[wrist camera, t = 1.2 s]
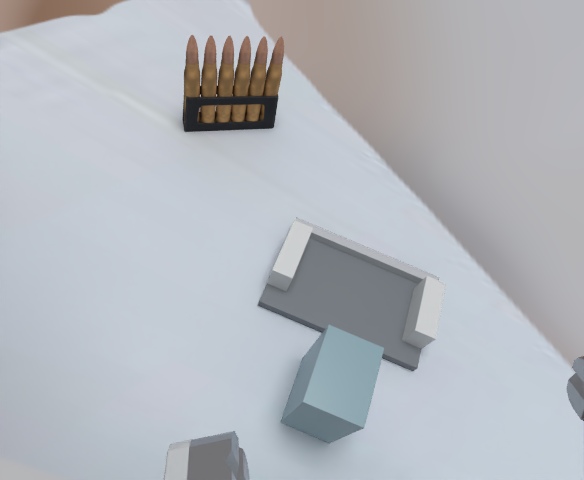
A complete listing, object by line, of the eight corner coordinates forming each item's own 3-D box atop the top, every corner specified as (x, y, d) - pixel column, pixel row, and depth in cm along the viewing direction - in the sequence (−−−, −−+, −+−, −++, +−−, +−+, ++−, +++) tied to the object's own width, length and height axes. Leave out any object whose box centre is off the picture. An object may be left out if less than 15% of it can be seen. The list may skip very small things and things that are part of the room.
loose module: (280, 422, 38) (303, 401, 31) (303, 357, 41) (328, 324, 34) (329, 443, 38) (364, 427, 30) (348, 376, 41) (384, 347, 34)
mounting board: (258, 305, 43) (264, 288, 40) (293, 225, 48) (300, 204, 45) (412, 370, 43) (432, 359, 39) (430, 283, 48) (449, 267, 45)
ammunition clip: (270, 117, 56) (288, 31, 46) (273, 128, 55) (292, 43, 45) (182, 120, 53) (180, 28, 43) (184, 131, 52) (183, 41, 42)
